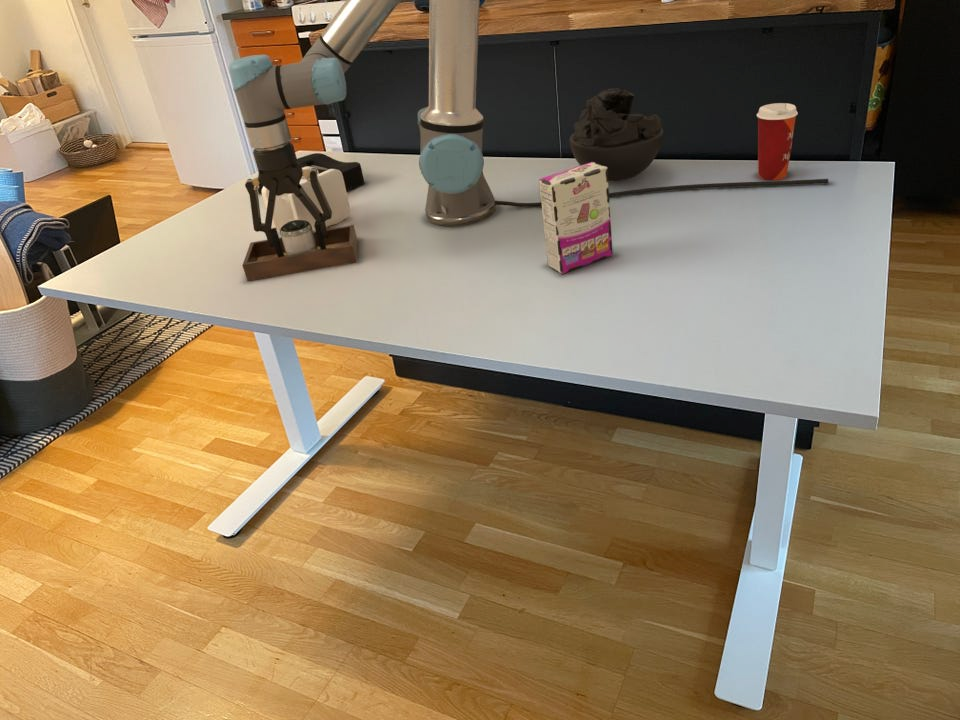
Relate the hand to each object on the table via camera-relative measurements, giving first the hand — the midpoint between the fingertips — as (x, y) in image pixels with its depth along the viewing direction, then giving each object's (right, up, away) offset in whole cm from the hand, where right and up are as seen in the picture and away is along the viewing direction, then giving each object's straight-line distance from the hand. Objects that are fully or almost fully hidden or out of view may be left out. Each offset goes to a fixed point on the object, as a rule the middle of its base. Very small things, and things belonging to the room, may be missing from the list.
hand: (303, 256), depth 151 cm
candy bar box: (+54, -3, -17) cm, 56 cm away
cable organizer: (-2, +9, +17) cm, 19 cm away
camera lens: (0, -1, 0) cm, 1 cm away
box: (0, -1, 0) cm, 1 cm away
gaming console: (-7, +23, +40) cm, 47 cm away
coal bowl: (+67, +20, +16) cm, 71 cm away
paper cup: (+97, +18, +5) cm, 99 cm away
